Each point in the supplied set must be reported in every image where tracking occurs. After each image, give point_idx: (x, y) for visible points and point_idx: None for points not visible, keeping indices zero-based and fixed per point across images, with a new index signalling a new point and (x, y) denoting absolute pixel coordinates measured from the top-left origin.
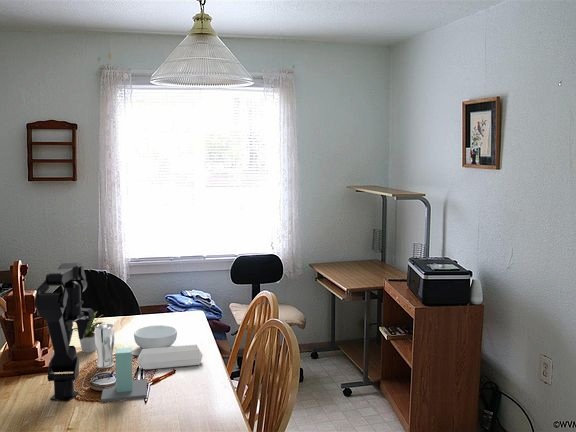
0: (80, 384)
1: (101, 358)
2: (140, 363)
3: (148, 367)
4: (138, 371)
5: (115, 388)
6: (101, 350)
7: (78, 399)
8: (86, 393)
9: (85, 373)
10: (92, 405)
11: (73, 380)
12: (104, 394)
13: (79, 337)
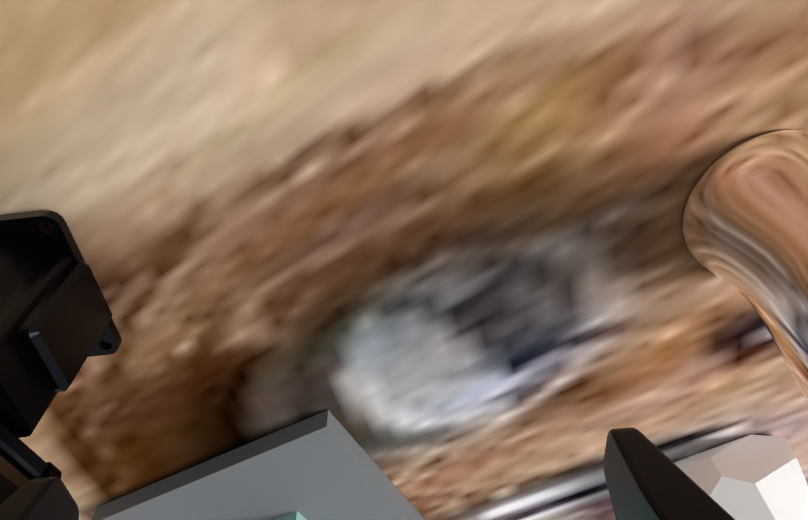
0: (283, 255)
1: (744, 259)
2: None
3: None
4: None
5: (265, 516)
6: (785, 330)
7: None
8: (158, 382)
9: (539, 144)
10: None
11: (69, 383)
12: (155, 510)
13: (618, 466)
